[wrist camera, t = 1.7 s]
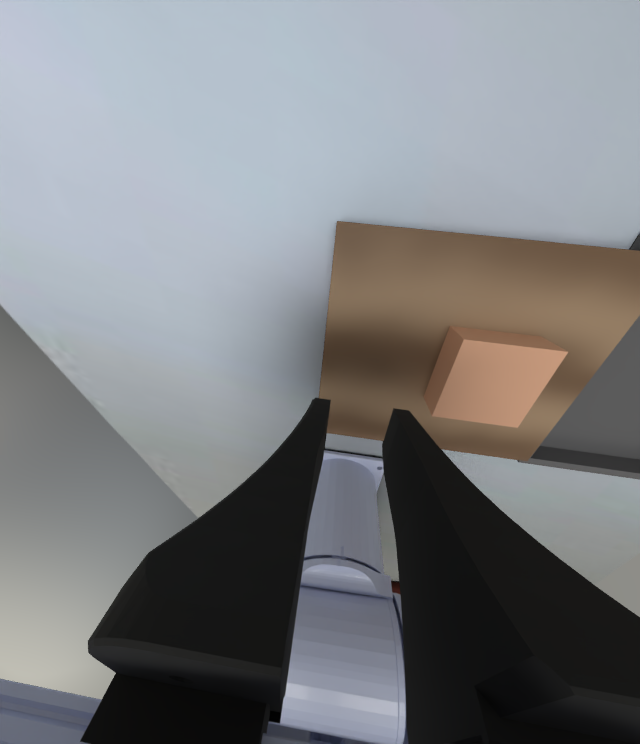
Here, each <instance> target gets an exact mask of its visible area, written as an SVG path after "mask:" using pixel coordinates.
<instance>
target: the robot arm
mask: <svg viewBox="0 0 640 744" xmlns="http://www.w3.org/2000/svg"><path fill="white" fill-rule="evenodd" d="M330 402H331V400H328V399H321V398H315V399H313V400H312V402H311V404H310V406H309V408H308V410H307V411H306V413H305V415H304V416H303V418H302V419H301V421H300V422H299V423H298V425H297V426H296V427H295V429H294V430H293V431H292V433H291V434H290V435H289V436H288V438H287V439H286V440H285V441H284V442H283V443H282V445H281V446H280V447H279V448H278V449H277V450H276V451H275V453H274V454H273V455H272V456H271V457H270V458H269V459H268V460H267V461H266V462H265V463H264V464H263V465H262V466H261V467H260V468H259V469H258V470H257V471H256V472H255V473H253V474H252V475H251V476H250V477H249V478H248V479H247V480H246V481H245V482H244V483H242V484H241V485H240V486H239V487H238V488H237V489H235V490H234V491H233V492H232V493H231V494H229V495H228V496H227V497H226V498H224V499H223V500H222V501H220V502H219V503H218V504H217V505H215V506H214V507H213V508H211V509H210V510H209V511H208V512H206V513H205V514H204V515H202V516H201V517H200V518H198V519H197V520H196V521H194V522H193V523H192V524H190V525H188V526H187V527H185V528H184V529H182V530H181V531H180V532H178V533H177V534H175V535H174V536H173V537H171V538H169V539H168V540H166V541H165V542H164V543H162V544H161V545H159V546H158V547H156V548H155V549H153V550H152V551H150V552H149V553H148V554H147V555H146V557H145V558H144V559H143V561H142V562H141V563H140V565H139V566H138V567H137V569H136V570H135V571H134V572H133V574H132V575H131V576H130V578H129V579H128V581H127V582H126V583H125V584H124V586H123V587H122V589H121V590H120V592H119V593H118V595H117V597H116V598H115V600H114V601H113V603H112V605H111V606H110V607H109V609H108V611H107V612H106V614H105V615H104V617H103V618H102V620H101V622H100V623H99V625H98V626H97V628H96V630H95V631H94V633H93V634H92V636H91V637H90V639H89V640H88V652H89V654H91V655H92V656H93V657H94V658H96V659H97V660H98V661H100V662H101V663H103V664H104V665H105V666H107V667H109V668H110V669H112V670H113V671H114V672H116V674H115V676H114V678H113V680H112V682H111V683H110V685H109V687H108V689H107V691H106V693H105V695H104V697H103V699H102V700H101V699H96V698H91V697H86V696H81V695H76V694H72V693H67V692H62V691H57V690H52V689H47V688H42V687H38V686H33V685H28V684H23V683H18V682H13V681H9V680H4V679H0V744H640V617H638V616H637V615H636V614H634V613H633V612H631V611H630V610H628V609H627V608H625V607H624V606H623V605H621V604H620V603H618V602H617V601H616V600H614V599H613V598H611V597H610V596H609V595H607V594H606V593H604V592H603V591H601V590H600V589H599V588H597V587H596V586H595V585H593V584H592V583H591V582H589V581H588V580H587V579H585V578H584V577H583V576H582V575H580V574H579V573H578V572H576V571H575V570H574V569H572V568H571V567H570V566H568V565H567V564H566V563H564V562H563V561H562V560H560V559H559V558H558V557H557V556H555V555H554V554H553V553H552V552H550V551H549V550H548V549H547V548H545V547H544V546H543V545H541V544H540V543H539V542H538V541H537V540H535V539H534V538H533V537H532V536H531V535H529V534H528V533H527V532H526V531H525V530H523V529H522V528H521V527H520V526H519V525H518V524H516V523H515V522H514V521H513V520H512V519H510V518H509V517H508V516H507V515H506V514H505V513H504V512H502V511H501V510H500V509H499V508H498V507H497V506H496V505H495V504H494V503H493V502H492V501H491V500H489V499H488V498H487V497H486V496H485V495H484V494H483V493H482V492H481V491H480V490H479V489H478V488H477V487H476V486H475V485H474V484H473V483H472V482H471V481H470V480H469V479H468V478H467V477H466V476H465V475H464V474H463V473H462V472H461V471H460V470H459V469H458V468H457V467H456V466H455V464H454V463H453V462H452V461H451V460H450V459H449V458H448V457H447V456H446V454H445V453H444V452H443V451H442V450H441V449H440V448H439V446H438V445H437V444H436V443H435V442H434V440H433V439H432V438H431V437H430V436H429V434H428V433H427V432H426V431H425V429H424V428H423V427H422V426H421V424H420V423H419V422H418V421H417V419H416V418H415V417H414V416H413V414H412V413H411V412H410V411H409V410H402V409H395V408H393V411H392V415H391V418H390V421H389V425H388V428H387V431H386V434H385V438H384V441H383V444H382V452H383V459H382V458H375V457H368V456H361V455H354V454H347V453H340V452H334V451H327V450H324V448H325V441H326V434H327V426H328V419H329V411H330ZM383 473H384V475H385V481H386V487H387V492H388V498H389V503H390V509H391V514H392V520H393V525H394V532H395V539H396V547H397V559H398V570H399V583H400V594H398V593H392V586H391V577H390V576H389V575H384V567H383V557H382V546H381V536H380V526H379V515H378V505H377V495H376V494H377V491H378V488H379V485H380V482H381V479H382V476H383Z"/></svg>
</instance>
